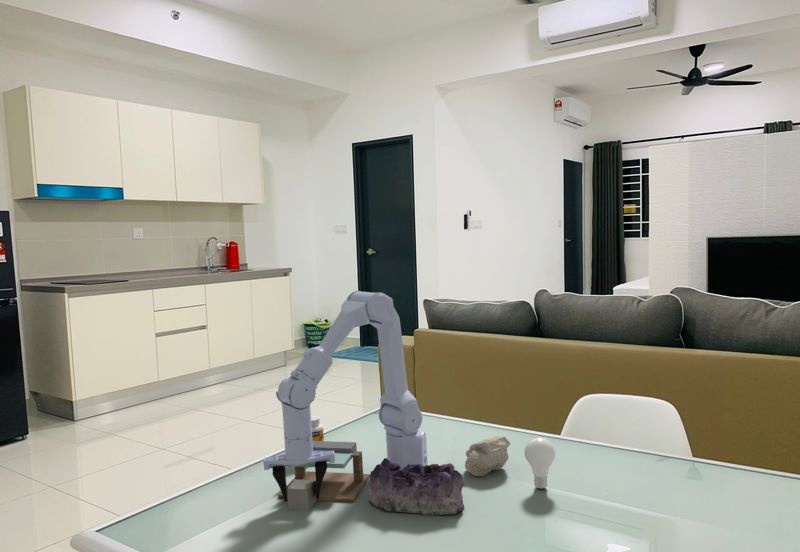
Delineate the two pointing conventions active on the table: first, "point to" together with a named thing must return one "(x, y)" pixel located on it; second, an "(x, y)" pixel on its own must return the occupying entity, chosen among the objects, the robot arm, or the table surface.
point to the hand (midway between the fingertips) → (301, 498)
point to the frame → (337, 482)
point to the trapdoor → (335, 452)
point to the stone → (301, 495)
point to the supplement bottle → (317, 429)
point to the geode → (416, 488)
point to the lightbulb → (540, 459)
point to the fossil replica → (487, 456)
